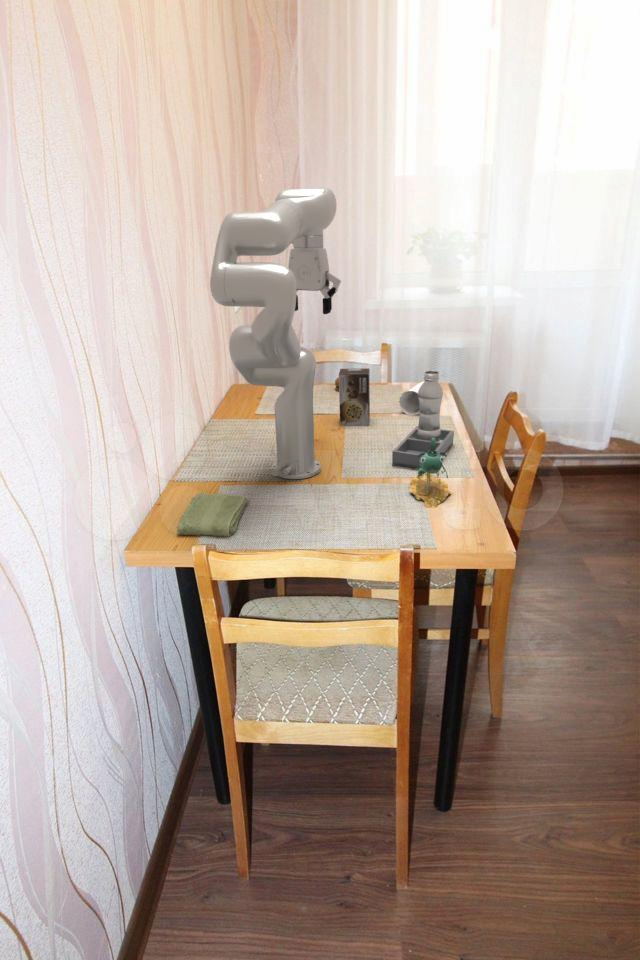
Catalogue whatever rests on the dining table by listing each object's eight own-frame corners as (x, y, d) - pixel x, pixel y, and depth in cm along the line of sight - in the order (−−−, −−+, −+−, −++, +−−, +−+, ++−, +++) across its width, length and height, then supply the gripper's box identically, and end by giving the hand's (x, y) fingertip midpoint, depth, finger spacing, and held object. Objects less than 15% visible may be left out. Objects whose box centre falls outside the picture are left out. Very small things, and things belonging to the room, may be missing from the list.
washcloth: (250, 502, 151) (249, 489, 149) (233, 540, 135) (232, 526, 133) (195, 500, 152) (194, 488, 150) (172, 538, 136) (170, 524, 134)
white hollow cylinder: (443, 401, 215) (445, 377, 212) (422, 417, 201) (423, 392, 197) (421, 397, 219) (422, 374, 216) (398, 413, 204) (399, 389, 201)
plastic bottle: (445, 446, 175) (449, 373, 167) (423, 450, 173) (426, 377, 164) (432, 438, 181) (436, 368, 172) (411, 442, 178) (414, 371, 170)
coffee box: (370, 419, 200) (370, 368, 193) (369, 426, 194) (369, 373, 188) (340, 418, 201) (340, 367, 194) (339, 425, 195) (338, 373, 189)
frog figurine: (448, 476, 160) (453, 422, 153) (452, 517, 145) (457, 459, 138) (409, 474, 162) (412, 421, 154) (409, 515, 146) (412, 458, 139)
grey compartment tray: (432, 472, 163) (432, 457, 161) (392, 465, 167) (392, 451, 165) (453, 444, 179) (453, 430, 178) (416, 439, 184) (416, 426, 182)
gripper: (271, 243, 163) (274, 312, 170) (332, 244, 155) (333, 317, 163) (286, 241, 169) (288, 308, 176) (345, 242, 161) (346, 311, 169)
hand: (310, 312), depth 169 cm, fingers open, 9 cm apart
